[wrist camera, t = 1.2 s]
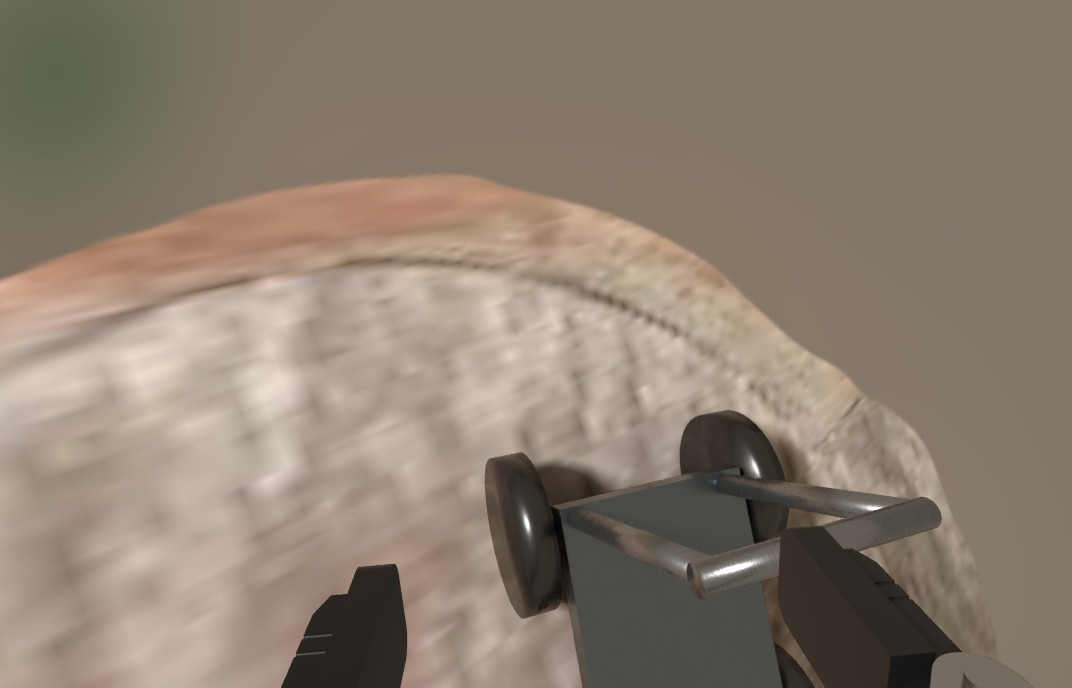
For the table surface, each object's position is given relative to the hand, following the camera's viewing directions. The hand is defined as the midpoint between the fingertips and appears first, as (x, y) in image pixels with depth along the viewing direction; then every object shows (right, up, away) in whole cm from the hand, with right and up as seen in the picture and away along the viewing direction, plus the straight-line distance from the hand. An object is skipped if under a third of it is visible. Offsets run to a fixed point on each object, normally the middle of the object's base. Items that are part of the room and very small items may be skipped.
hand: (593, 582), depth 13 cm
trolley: (+7, -19, +43) cm, 47 cm away
